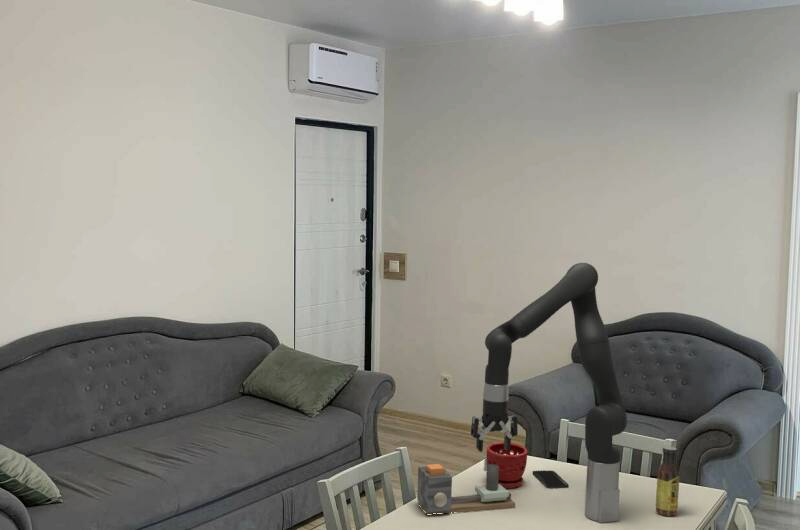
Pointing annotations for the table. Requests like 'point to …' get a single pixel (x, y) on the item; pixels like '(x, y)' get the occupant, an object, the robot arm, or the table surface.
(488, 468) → the mint plate with knob
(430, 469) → the button
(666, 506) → the sauce bottle
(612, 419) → the robot arm
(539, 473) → the phone
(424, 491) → the rail
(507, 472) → the plant pot
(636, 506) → the table surface
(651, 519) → the table surface
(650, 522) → the table surface
